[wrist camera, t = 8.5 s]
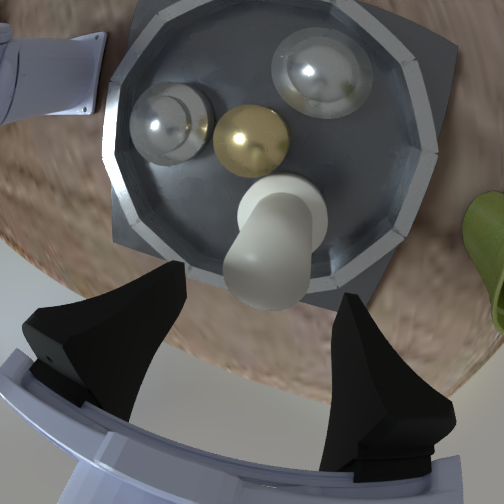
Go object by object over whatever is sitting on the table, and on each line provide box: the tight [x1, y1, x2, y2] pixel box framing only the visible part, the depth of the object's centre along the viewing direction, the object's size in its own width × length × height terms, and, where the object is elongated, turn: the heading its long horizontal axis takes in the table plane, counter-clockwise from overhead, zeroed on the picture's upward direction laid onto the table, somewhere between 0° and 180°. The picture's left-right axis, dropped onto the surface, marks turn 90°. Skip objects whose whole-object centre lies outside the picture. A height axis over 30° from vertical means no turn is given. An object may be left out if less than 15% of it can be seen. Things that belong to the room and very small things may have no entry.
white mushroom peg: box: [223, 172, 328, 311], centre depth 16 cm, size 6×6×8 cm
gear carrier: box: [102, 0, 458, 312], centre depth 16 cm, size 24×24×4 cm
